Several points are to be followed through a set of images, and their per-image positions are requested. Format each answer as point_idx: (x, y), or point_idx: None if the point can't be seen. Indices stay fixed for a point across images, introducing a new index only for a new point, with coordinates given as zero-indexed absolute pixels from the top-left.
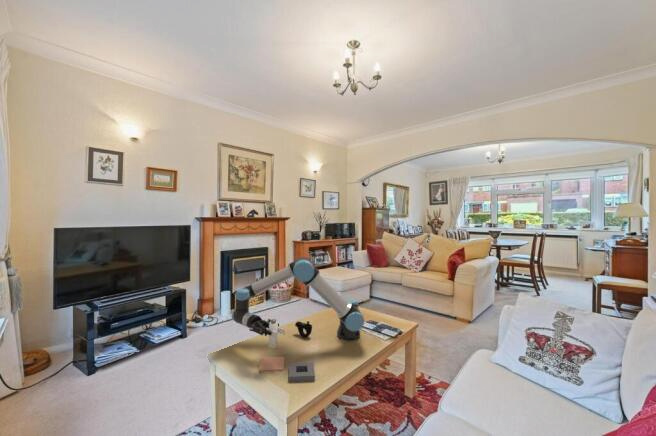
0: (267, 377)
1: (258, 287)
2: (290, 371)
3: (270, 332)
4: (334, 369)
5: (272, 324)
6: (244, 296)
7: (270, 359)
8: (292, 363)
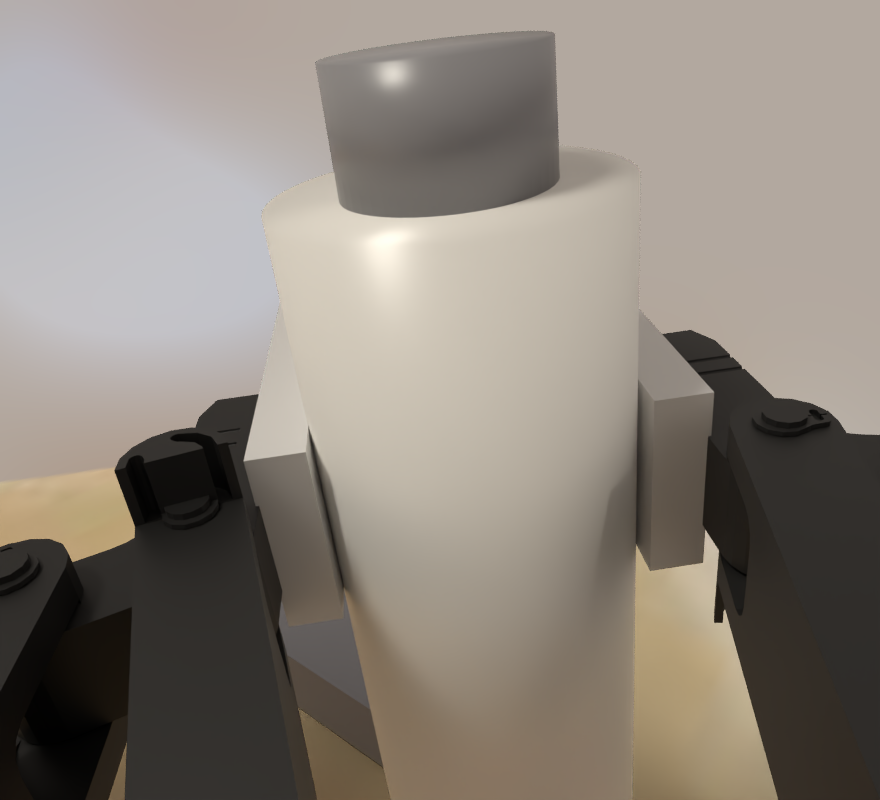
0: (752, 780)
1: None
2: None
3: (674, 335)
4: (111, 527)
5: (572, 148)
6: None
7: None
8: (360, 678)
